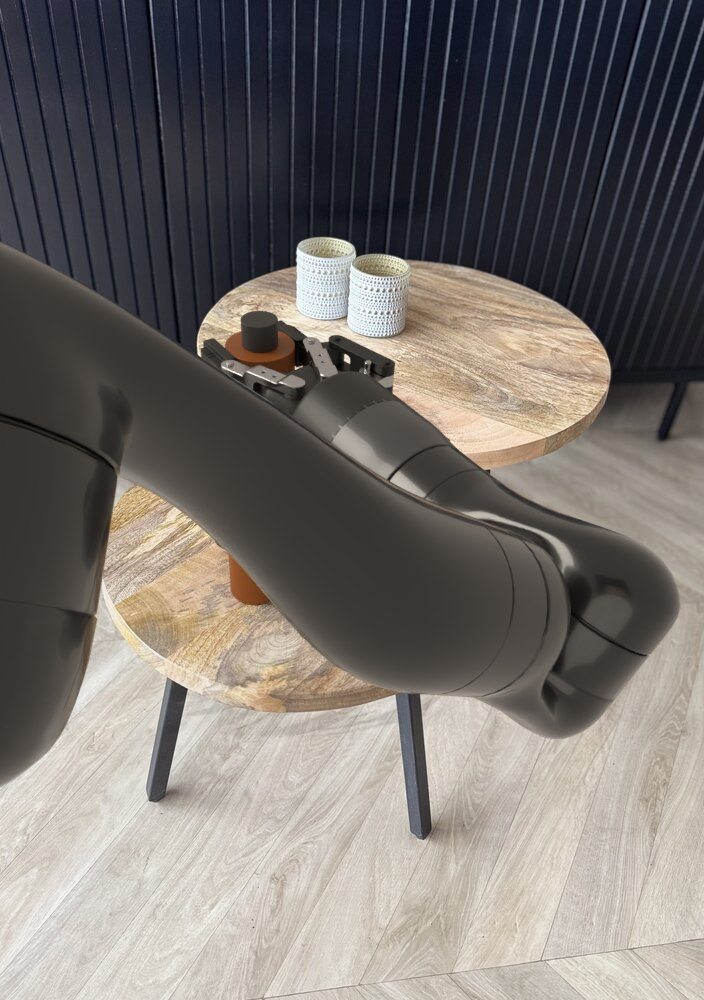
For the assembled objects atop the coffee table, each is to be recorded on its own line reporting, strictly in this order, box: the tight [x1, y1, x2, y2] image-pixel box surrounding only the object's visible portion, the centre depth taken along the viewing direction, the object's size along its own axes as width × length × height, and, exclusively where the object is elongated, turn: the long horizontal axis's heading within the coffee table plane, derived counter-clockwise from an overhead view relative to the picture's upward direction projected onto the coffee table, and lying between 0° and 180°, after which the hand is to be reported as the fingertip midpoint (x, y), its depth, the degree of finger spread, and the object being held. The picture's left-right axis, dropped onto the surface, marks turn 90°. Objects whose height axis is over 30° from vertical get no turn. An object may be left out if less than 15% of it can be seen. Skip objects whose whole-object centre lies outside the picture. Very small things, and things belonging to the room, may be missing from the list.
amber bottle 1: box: [224, 310, 296, 387], centre depth 60 cm, size 5×5×12 cm
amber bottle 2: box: [227, 553, 271, 606], centre depth 80 cm, size 5×5×12 cm
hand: (242, 341), depth 60 cm, fingers closed on amber bottle 1, 5 cm apart
